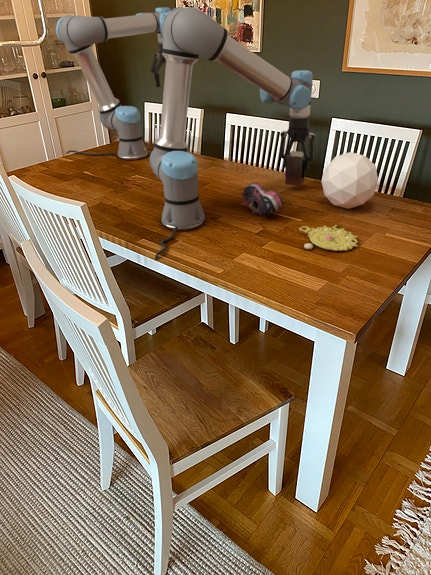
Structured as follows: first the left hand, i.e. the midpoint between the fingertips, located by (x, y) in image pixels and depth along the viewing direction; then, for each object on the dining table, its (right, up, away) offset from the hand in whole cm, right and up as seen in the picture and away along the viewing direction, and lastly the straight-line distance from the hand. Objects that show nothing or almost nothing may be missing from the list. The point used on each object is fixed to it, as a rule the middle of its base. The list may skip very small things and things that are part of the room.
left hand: (169, 87), depth 239 cm
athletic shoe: (+41, -80, -77) cm, 118 cm away
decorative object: (+61, -93, -98) cm, 148 cm away
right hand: (+57, -63, -61) cm, 105 cm away
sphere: (+74, -78, -75) cm, 131 cm away
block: (+58, -66, -59) cm, 106 cm away
